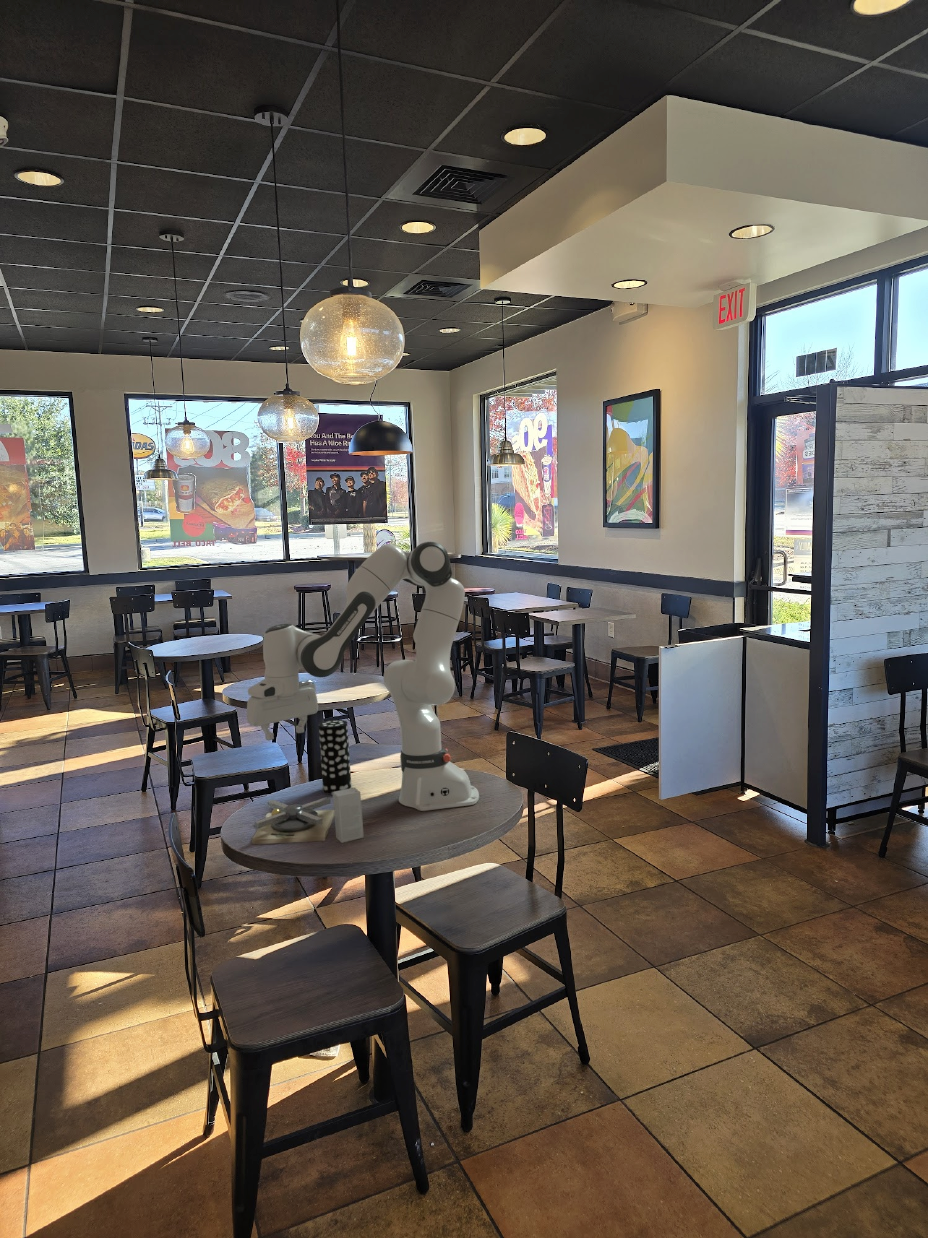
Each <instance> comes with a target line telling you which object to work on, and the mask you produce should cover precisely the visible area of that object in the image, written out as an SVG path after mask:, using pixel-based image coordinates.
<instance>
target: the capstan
mask: <svg viewBox="0 0 928 1238" xmlns="http://www.w3.org/2000/svg"><path fill="white" fill-rule="evenodd" d="M330 804H331V797H329V796H328V797H327V796H326V797H323V798H320V799H317V800H314V801H311V802H308V803H305V804H303V805H302V804H299V803H297V804H290V805H288V804H285V803H283V802H280V801H278V800H274V799H270V800H267V807H268V808H271V809H273V810H271V812H270V813H271V815H272V816H270V817H267V818H265V817H264V818H262V819H260V820H255V821H254V827H255V828H256V829H257V830H258V829H259V828H262V827H265V826H268V825H271V828H272V829H274V830H276V831H280V832H296V831H301V830H305V829H308V828H311V827H313V826H314V825H317V826H318V825H320V824H322V818H320V817H318V813H317V812H316V811H317V810H315V809H319V808H322V807H323V806H326V805H330Z"/></svg>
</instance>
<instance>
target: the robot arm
mask: <svg viewBox="0 0 928 1238" xmlns="http://www.w3.org/2000/svg"><path fill="white" fill-rule="evenodd" d="M452 576H453V571H452V567H451V559H450V556H449V553H448V551H447V550H446V548H445V547H444V546H443V545H442V544H440V543H438V542H437V541H436V542H435V541H425V542H422V543H420V544H418V545H417V546H416V547H415V548H414V549H413V550H411V551H406V550H405V551H404V550H403V549H401V547H399V546H397V545H395V544H391V543H385V544H383V545H381V546H380V547H378V548H377V549H376V550H375V551H374V552H372V554H370V555H369V556H368V557H367V558H366V559H365V560H364V561H363V562H362V563H361V565H359V566H358V568H356V570H355V572H354V573H353V574H352V576H351V577H350V579H349V581H348V583H347V584H346V587H345V589H346V591H345V592H346V604H345V607H344V609H343V610H342V612H341V614H339V616H338V617H337V618H336V619H335V621H334V623H333V624H332V625H331V626H330V627H329V629H328V630H327V631H326V632H325V633H324V634H322V635H319V634H315V633H312V632H309V631H305V630H302V629H300V628H299V627H297V626H294V625H293V624H292V623H281V624H276V625H273V626H271V627H269V628H267V630H265V632H264V635H263V642H262V652H263V653H262V655H263V662H264V664H265V670H264V679H262V680H260V681H259V682H257V683H255V684H253V685H252V686H250V687H249V688H248V689H247V694H248V696H250V697H249V698H248V700H247V703H246V720H247V723H248V725H250V726H252V727H260V728H261V730H262V731H263V734H264V735H265V741H272V740H274V739H275V737H274V736H275V735H274V732H271V731H270V730H269V728H270V727H271V726H270V725H271V724H275V723H279V722H282V721H287V720H291V719H292V720H293V719H297V718H298V719H299V722H298V724H297V725H296V726H295V733H297V734H302V733H305V725H306V723H307V721H308V716H310V715H314V714H317V712H318V710H319V702H318V698H317V697H318V696H317V693H316V692H317V690H316V689H317V688H316V684H315V683H314V682H313V681H311V680H309V679H308V680H305V681H300V676H299V671H300V670H303V669H304V670H305V671H306V672H307V674H309V675H310V676H313V677H315V678H326V677H329V676H332V675H333V674H334V673H335V672H336V671H337V670H338V669H339V667H340V665H341V663H342V660H343V656H344V653H345V651H346V649H347V647H348V646H349V644H350V642H351V641H352V640H353V639H354V637H355V636H356V635H357V633H358V632H359V631H360V629H361V628H362V627H363V625H364V624H365V623H366V621H367V620H368V619H369V618H370V616H371V615H372V614H373V613H374V611H375V610H376V609H377V608H378V607H379V606H380V605H381V604H382V602H384V600H385V599H386V598H387V597H388V596H389V595H390V594H391V593H392V592H393V590H394V589H395V587H396V586H398V584H399V583H401V581H404V582H407V583H408V584H411V585H413V586H416V587H419V588H420V587H421V588H424V590H425V596H424V597H425V598H424V601H423V604H422V607H421V609H420V613H419V617H418V619H417V621H416V624H415V627H414V631H413V634H412V637H413V638H412V639H413V641H414V643H415V648H416V650H415V654H416V655H415V659H414V660H411V659H402V660H401V659H400V660H394V661H393V662H391V663H390V664H388V666H387V667H386V669H385V670H384V673H383V677H382V678H383V679H382V680H383V684H384V687H385V688H386V690H387V691H388V692H389V694H390V696H391V699H392V701H393V704H394V707H395V710H396V714H397V718H398V722H399V727H400V728H399V729H400V743H401V750H400V755H399V756H400V757H399V758H400V769H401V773H402V776H401V787H400V793H399V797H398V802H399V803H400V804H401V805H403V806H405V807H408V808H414V809H416V810H418V811H422V812H426V811H432V810H433V811H434V810H440V809H441V810H442V809H450V808H457V807H458V808H459V807H464V806H465V807H466V806H473V805H475V804H477V802H479V800H480V793H479V790H478V788H476V787H475V786H474V785H471V781H470V778H469V777H470V776H468V773H467V772H466V771H465V770H464V769H463V768H460V767H459V766H458V765H456V764H454V763H453V762H451V758H452V757H451V754H450V752H449V751H448V748H443V747H442V736H441V735H442V733H441V722H440V719H439V717H438V716H437V715H436V713H435V711H434V709H433V706H440V705H444V704H446V703H448V702H449V701H450V700H451V698H452V697H453V695H454V694H455V689H456V683H455V679H454V676H453V674H452V671H451V651H452V650H451V649H452V646H453V642H454V639H455V635H456V631H457V629H458V626H459V622H460V620H461V618H462V617H461V616H462V612H463V608H464V603H465V597H466V596H465V594H466V590H465V587H464V585H463V584H462V582H460V581H459V580H457V579H456V578H453V577H452Z"/></svg>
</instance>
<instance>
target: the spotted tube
mask: <svg viewBox="0 0 928 1238" xmlns="http://www.w3.org/2000/svg"><path fill="white" fill-rule="evenodd" d="M348 725H349V724H348V721H346V720H342V719H330V720H325V721H322V722H321V721H320V722H319V723H318V734H319V735H318V736H319V737H318V738H319V747H320V748H319V750H320V751H319V752H320V765H321V779H322V781H321V783H322V792H323V793H325V794H327V795H333V792H335V791H340V790H345V789H350V788H352V779H351V778H352V775H351V760H350V759H351V758H350V743H349V742H350V741H349V729H348Z"/></svg>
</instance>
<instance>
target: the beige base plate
mask: <svg viewBox="0 0 928 1238" xmlns="http://www.w3.org/2000/svg"><path fill="white" fill-rule="evenodd" d="M315 811H316V812H317V813H318V817H320V818H322V824H320V825H318V826H317V825H314V826H313V827H311V828H308V829H305V830H301V831H296V832H280V831H276V830H274V829H272V828H271V825H268V826H265V827H262V828H259V829H258V828H257V830H256V832H255V833H254V835H253V836H252V838H251V845H266V844H283V843H284V844H286V843H305V842H308V843H309V842H321V841H324V842H325V841H326V838H327V836H328V833H329V830H330V828H331V825H332V823H333V820H334V819H335V816H334V809H325V810H323V809H322V810H321V809H319V810H315ZM271 813H272V812H268V813H266V815H265V817H264V818H267V817H270V816H272V815H271Z"/></svg>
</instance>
